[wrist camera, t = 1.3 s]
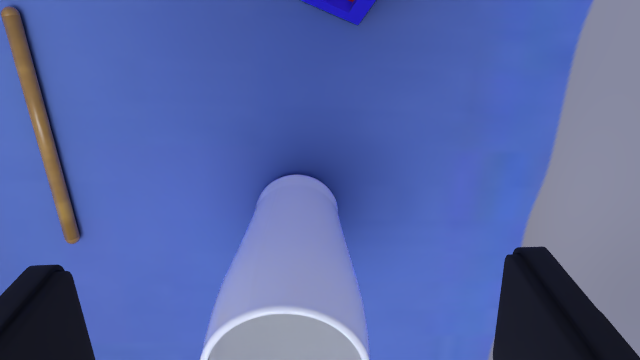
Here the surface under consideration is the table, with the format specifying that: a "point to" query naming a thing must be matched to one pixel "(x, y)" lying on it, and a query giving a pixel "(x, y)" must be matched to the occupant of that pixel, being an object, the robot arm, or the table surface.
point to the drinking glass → (290, 283)
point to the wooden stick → (40, 121)
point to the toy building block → (344, 8)
